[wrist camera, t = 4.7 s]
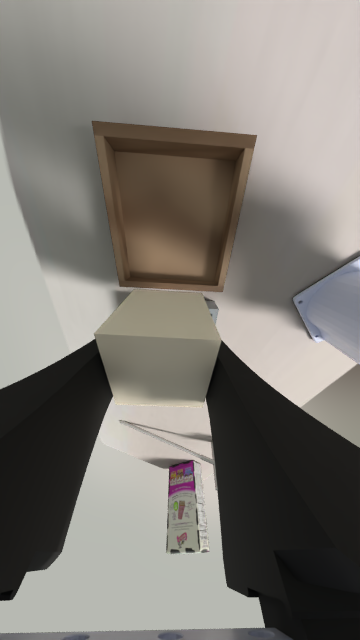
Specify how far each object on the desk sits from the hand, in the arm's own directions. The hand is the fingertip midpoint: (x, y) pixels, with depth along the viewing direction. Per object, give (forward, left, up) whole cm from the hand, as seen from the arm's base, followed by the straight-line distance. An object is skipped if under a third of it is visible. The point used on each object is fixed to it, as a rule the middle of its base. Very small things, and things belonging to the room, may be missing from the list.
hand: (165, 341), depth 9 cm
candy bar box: (-50, +42, -10) cm, 66 cm away
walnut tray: (+5, -4, -10) cm, 12 cm away
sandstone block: (0, 0, -2) cm, 2 cm away
